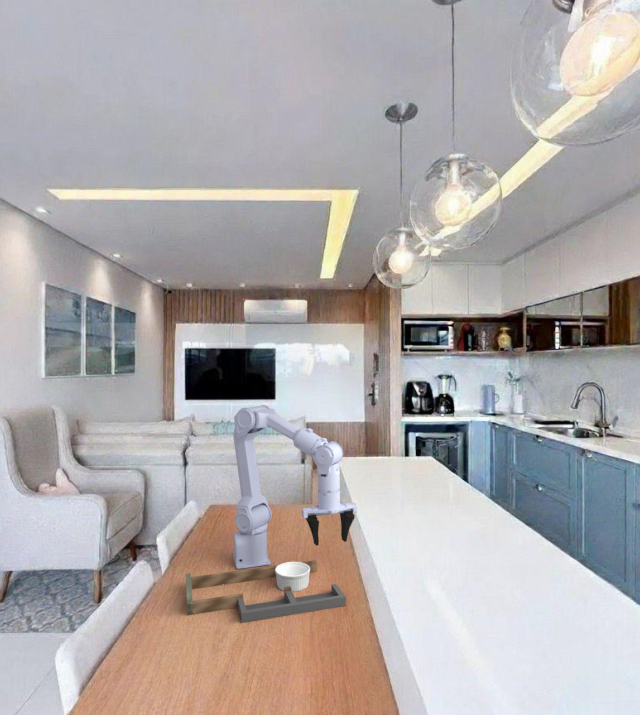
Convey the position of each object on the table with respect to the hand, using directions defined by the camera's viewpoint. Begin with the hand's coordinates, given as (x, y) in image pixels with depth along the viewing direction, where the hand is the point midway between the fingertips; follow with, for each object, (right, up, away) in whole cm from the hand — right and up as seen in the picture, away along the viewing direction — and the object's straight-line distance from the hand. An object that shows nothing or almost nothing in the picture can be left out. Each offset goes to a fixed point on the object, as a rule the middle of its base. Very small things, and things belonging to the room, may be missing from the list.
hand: (330, 542), depth 129 cm
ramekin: (-10, -10, -3) cm, 14 cm away
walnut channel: (-18, -10, -6) cm, 21 cm away
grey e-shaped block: (-9, -10, -14) cm, 20 cm away
